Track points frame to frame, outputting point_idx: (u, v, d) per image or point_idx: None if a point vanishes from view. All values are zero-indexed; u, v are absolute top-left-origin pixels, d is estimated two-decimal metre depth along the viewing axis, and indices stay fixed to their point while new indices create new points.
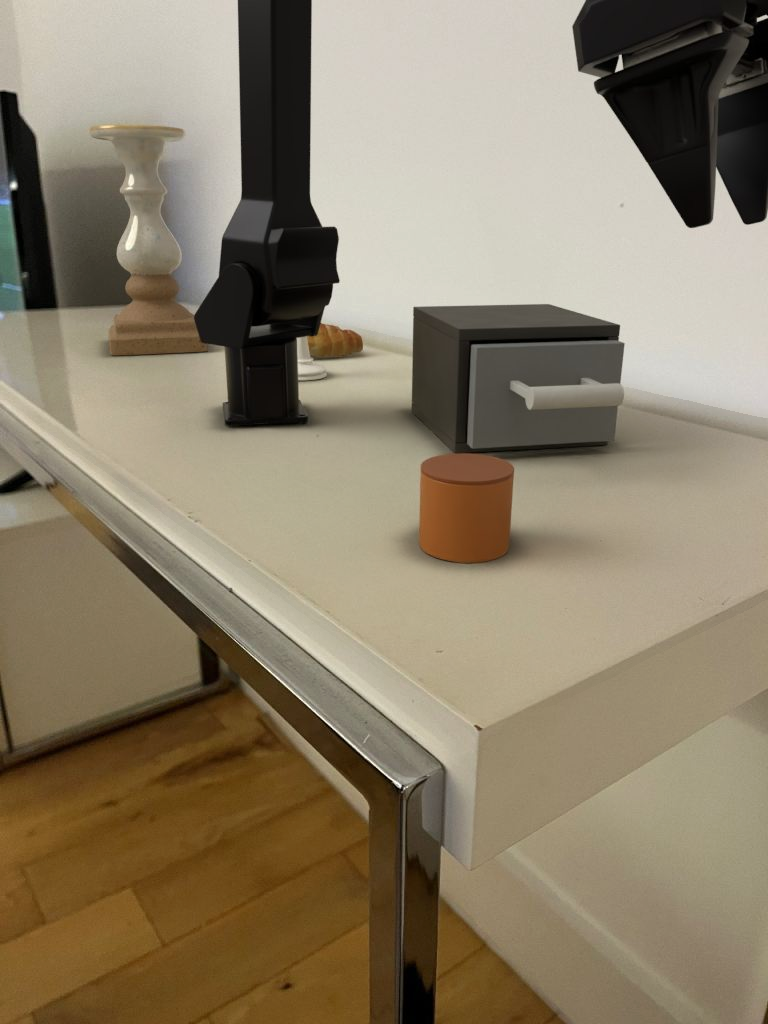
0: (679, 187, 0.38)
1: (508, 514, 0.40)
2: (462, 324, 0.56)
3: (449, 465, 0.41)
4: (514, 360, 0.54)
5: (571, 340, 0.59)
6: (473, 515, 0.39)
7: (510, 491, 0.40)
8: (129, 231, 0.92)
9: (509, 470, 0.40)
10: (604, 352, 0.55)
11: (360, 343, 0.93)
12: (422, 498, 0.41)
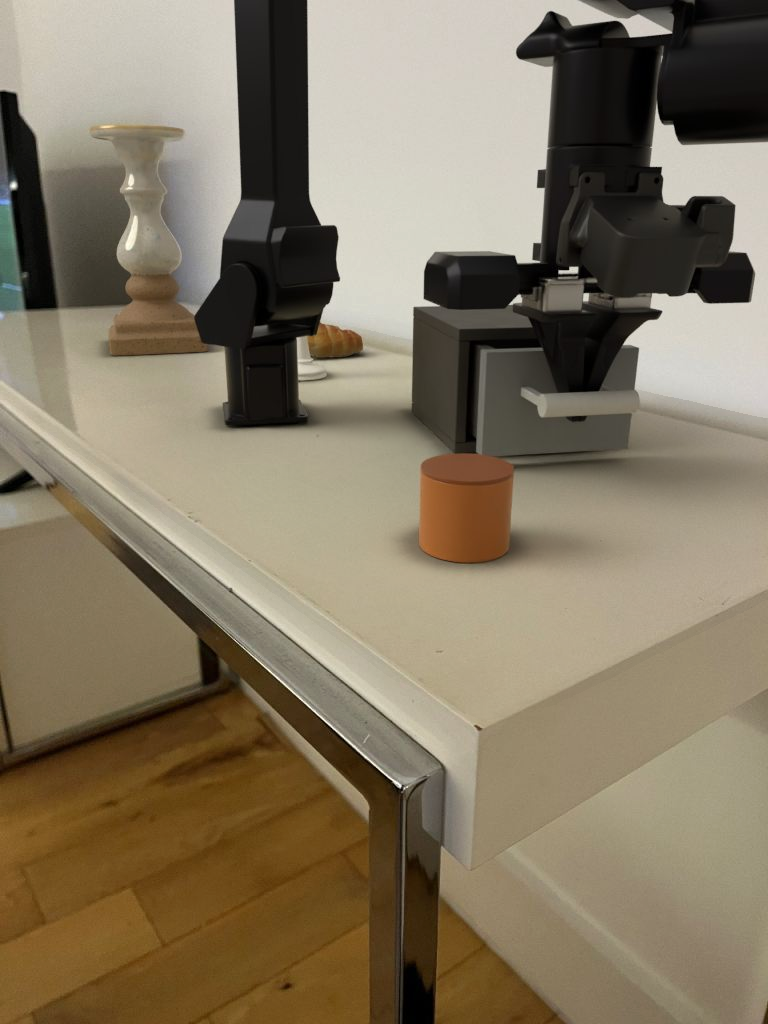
0: (560, 390, 0.51)
1: (508, 514, 0.40)
2: (462, 324, 0.56)
3: (449, 465, 0.41)
4: (525, 365, 0.52)
5: None
6: (473, 515, 0.39)
7: (510, 491, 0.40)
8: (129, 231, 0.92)
9: (509, 470, 0.40)
10: (617, 357, 0.53)
11: (360, 343, 0.93)
12: (422, 498, 0.41)
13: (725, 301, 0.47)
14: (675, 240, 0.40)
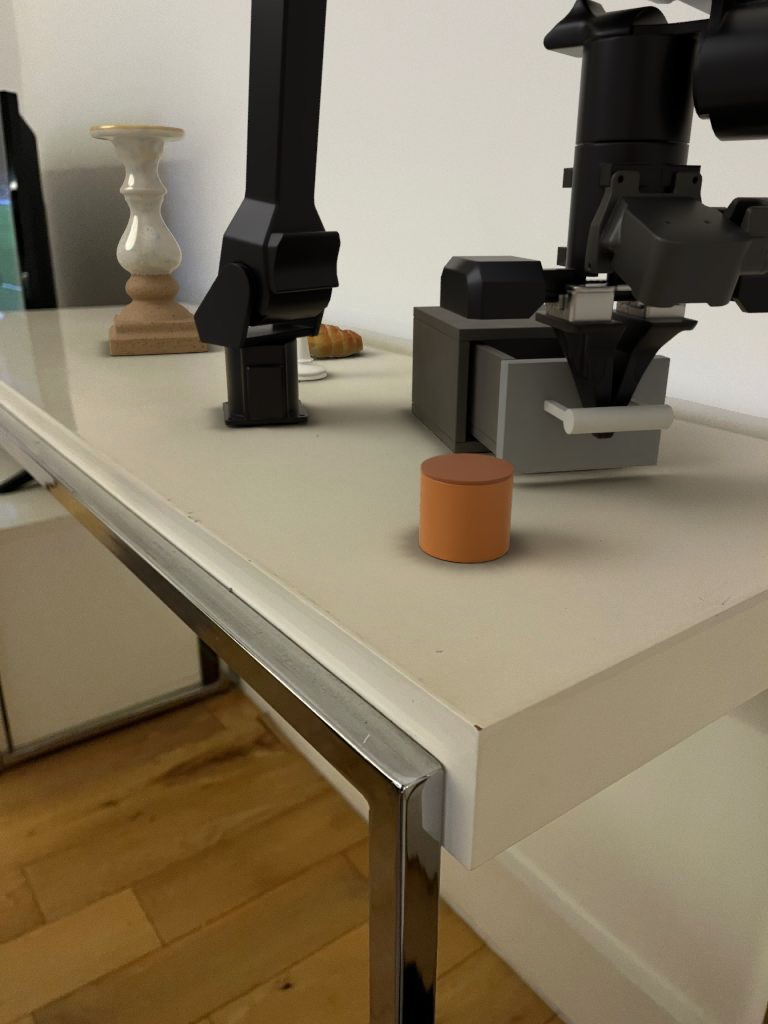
0: (586, 404, 0.48)
1: (508, 514, 0.40)
2: (462, 324, 0.56)
3: (449, 465, 0.41)
4: (549, 377, 0.48)
5: None
6: (473, 515, 0.39)
7: (510, 491, 0.40)
8: (129, 231, 0.92)
9: (509, 470, 0.40)
10: (647, 368, 0.49)
11: (360, 343, 0.93)
12: (422, 498, 0.41)
13: (766, 310, 0.44)
14: (719, 245, 0.36)
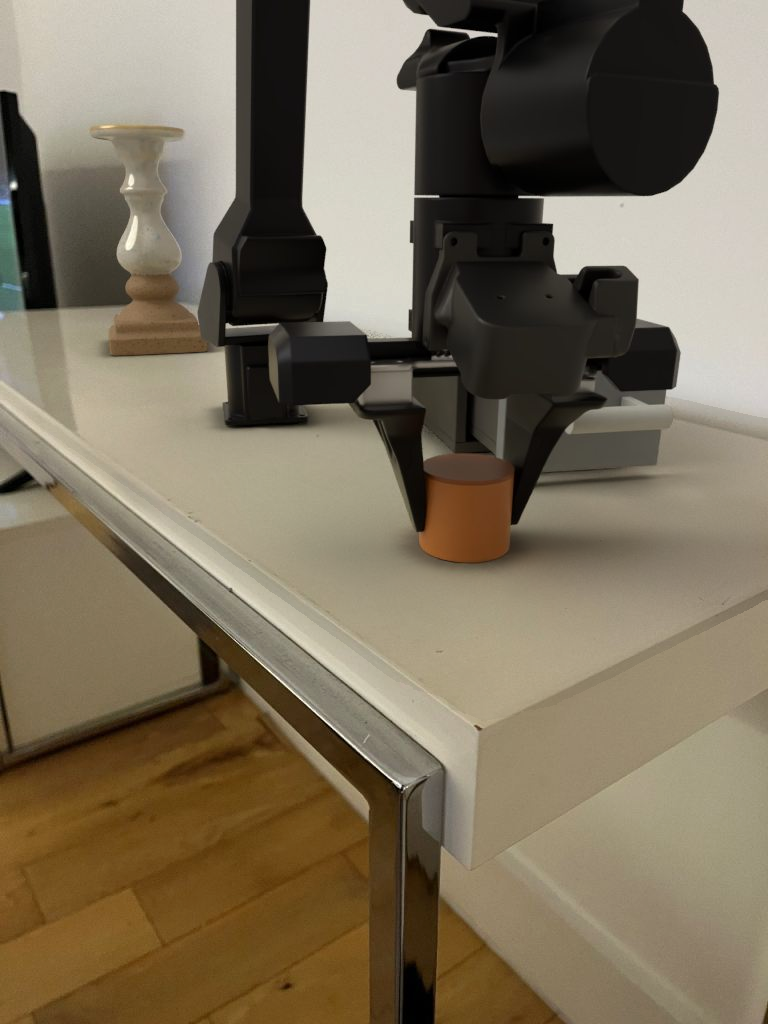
0: (402, 492, 0.41)
1: (508, 514, 0.40)
2: None
3: (449, 465, 0.41)
4: None
5: None
6: (473, 515, 0.39)
7: (510, 491, 0.40)
8: (129, 231, 0.92)
9: (510, 470, 0.40)
10: None
11: None
12: None
13: (641, 388, 0.38)
14: (554, 329, 0.30)
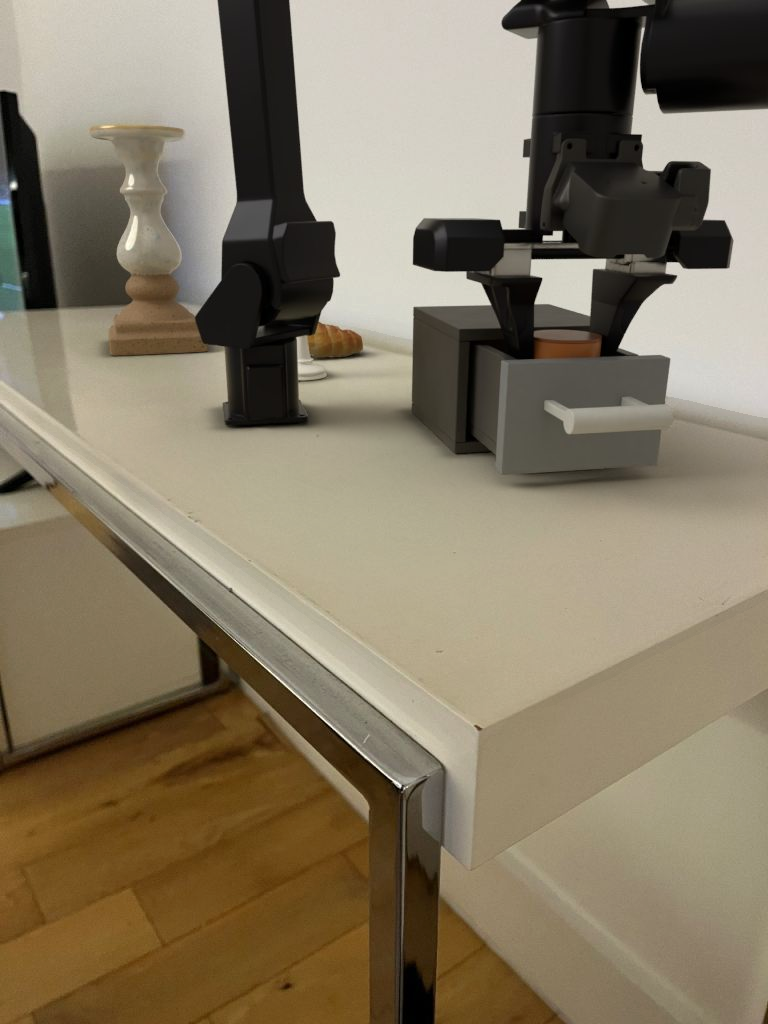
0: (513, 355, 0.52)
1: None
2: (462, 324, 0.56)
3: (550, 334, 0.52)
4: (549, 377, 0.48)
5: None
6: None
7: (599, 352, 0.51)
8: (129, 231, 0.92)
9: (599, 336, 0.51)
10: (647, 368, 0.49)
11: (360, 343, 0.93)
12: None
13: (704, 267, 0.49)
14: (652, 201, 0.41)
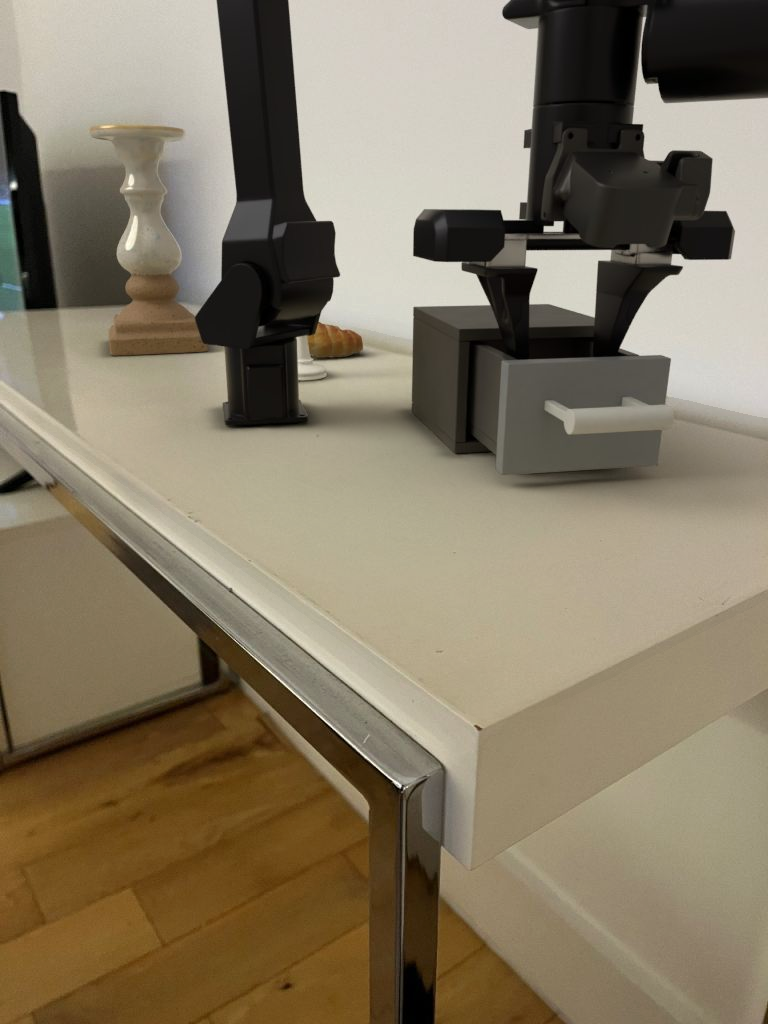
0: (508, 347, 0.52)
1: None
2: (462, 324, 0.56)
3: None
4: (549, 377, 0.48)
5: None
6: None
7: None
8: (129, 231, 0.92)
9: None
10: (648, 368, 0.49)
11: (360, 343, 0.93)
12: None
13: (705, 258, 0.49)
14: (653, 191, 0.41)
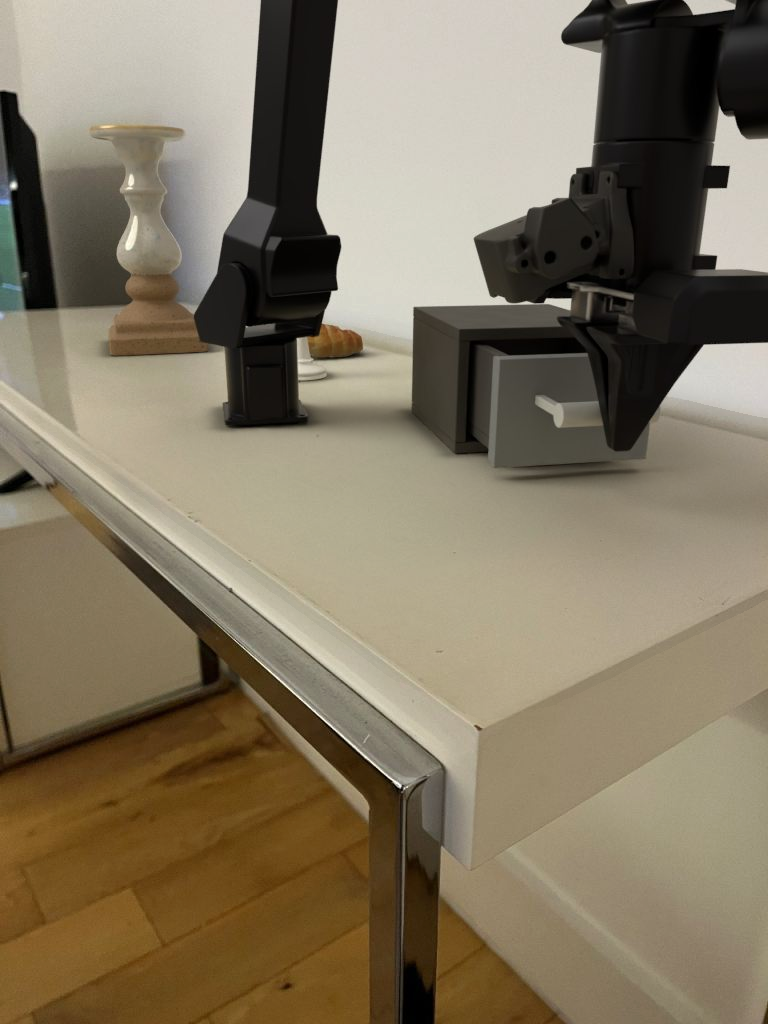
0: None
1: None
2: (462, 324, 0.56)
3: None
4: (540, 373, 0.50)
5: None
6: None
7: None
8: (129, 231, 0.92)
9: None
10: None
11: (360, 343, 0.93)
12: None
13: (649, 335, 0.36)
14: (485, 242, 0.40)
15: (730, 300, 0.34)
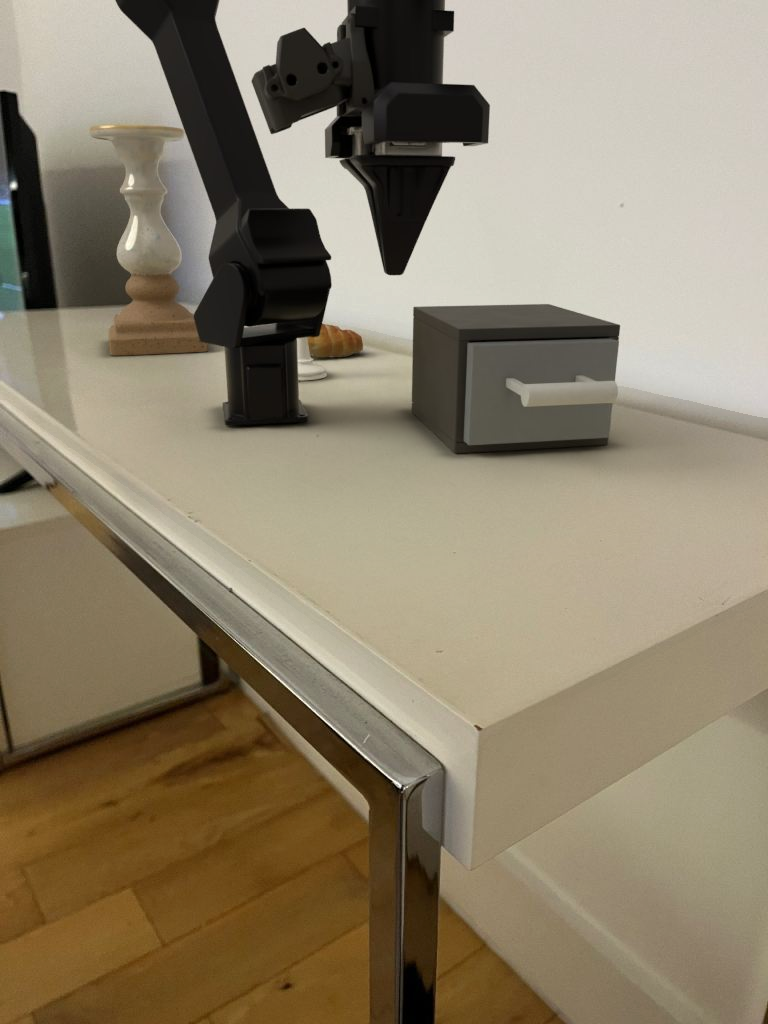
0: None
1: None
2: (462, 324, 0.56)
3: None
4: (509, 358, 0.54)
5: (567, 338, 0.60)
6: None
7: None
8: (129, 231, 0.92)
9: None
10: (598, 350, 0.56)
11: (360, 343, 0.93)
12: None
13: (368, 140, 0.43)
14: (253, 78, 0.47)
15: (420, 102, 0.41)
